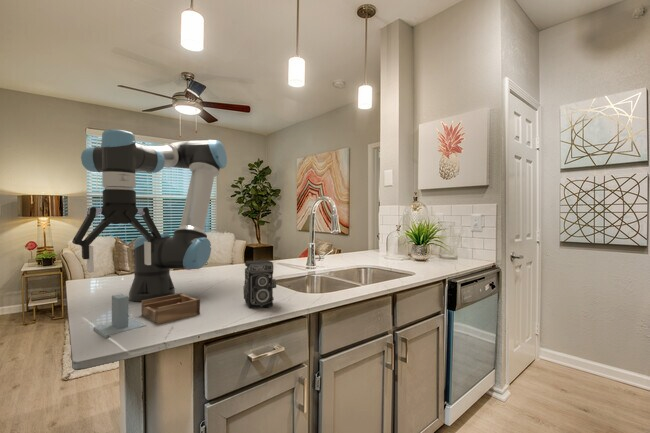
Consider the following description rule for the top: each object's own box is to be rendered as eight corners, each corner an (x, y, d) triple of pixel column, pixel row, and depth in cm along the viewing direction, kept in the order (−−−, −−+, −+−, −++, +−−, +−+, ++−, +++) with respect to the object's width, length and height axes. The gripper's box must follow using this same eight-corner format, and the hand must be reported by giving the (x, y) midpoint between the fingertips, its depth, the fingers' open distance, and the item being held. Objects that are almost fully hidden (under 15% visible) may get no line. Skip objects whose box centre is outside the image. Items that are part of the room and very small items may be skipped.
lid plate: (93, 330, 85) (93, 296, 85) (132, 321, 92) (132, 290, 92) (105, 339, 79) (105, 303, 79) (146, 328, 86) (145, 295, 86)
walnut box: (141, 317, 95) (141, 300, 95) (181, 308, 104) (181, 292, 104) (158, 326, 87) (158, 308, 87) (199, 315, 97) (199, 299, 97)
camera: (246, 312, 99) (246, 265, 99) (241, 304, 109) (241, 260, 109) (279, 309, 104) (279, 263, 104) (271, 300, 113) (271, 258, 113)
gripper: (63, 186, 73) (65, 277, 74) (172, 190, 92) (173, 263, 93) (56, 187, 78) (58, 273, 79) (161, 191, 97) (162, 260, 98)
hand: (120, 268), depth 86 cm, fingers open, 13 cm apart
